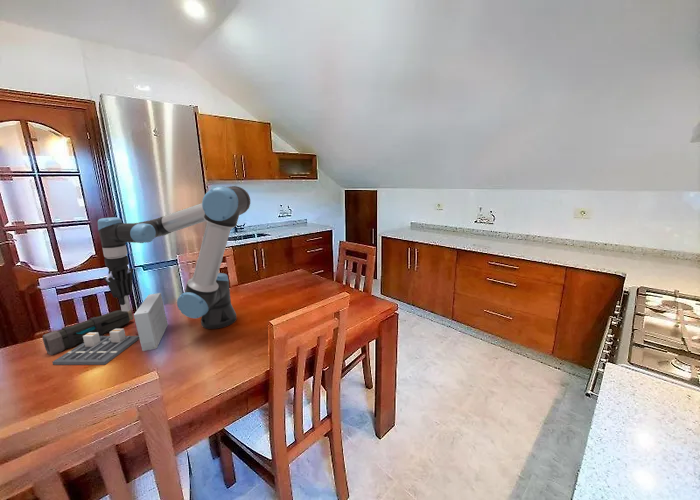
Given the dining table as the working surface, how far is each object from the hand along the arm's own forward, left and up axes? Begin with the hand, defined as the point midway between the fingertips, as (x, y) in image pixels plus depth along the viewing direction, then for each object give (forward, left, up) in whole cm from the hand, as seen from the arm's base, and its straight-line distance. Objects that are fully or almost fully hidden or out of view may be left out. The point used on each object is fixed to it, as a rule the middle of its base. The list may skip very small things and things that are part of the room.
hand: (126, 310), depth 125 cm
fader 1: (+8, +10, -10) cm, 16 cm away
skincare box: (-12, +2, -12) cm, 17 cm away
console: (+4, +12, -11) cm, 17 cm away
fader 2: (0, +7, -10) cm, 12 cm away
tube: (+15, +1, -12) cm, 19 cm away
